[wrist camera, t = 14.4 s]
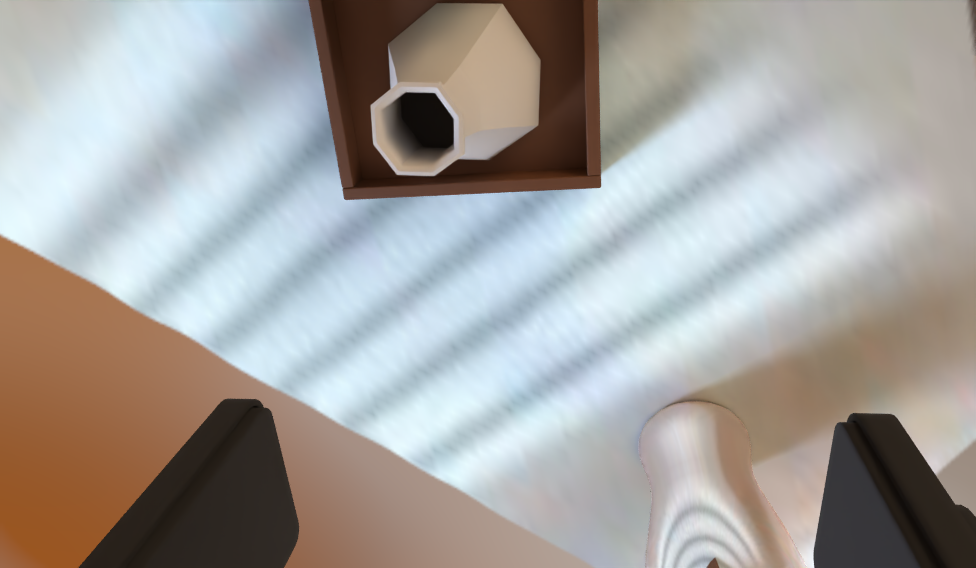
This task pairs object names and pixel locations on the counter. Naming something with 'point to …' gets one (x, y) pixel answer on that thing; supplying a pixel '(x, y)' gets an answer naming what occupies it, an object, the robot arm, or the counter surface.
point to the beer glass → (708, 494)
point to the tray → (520, 167)
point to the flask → (456, 89)
